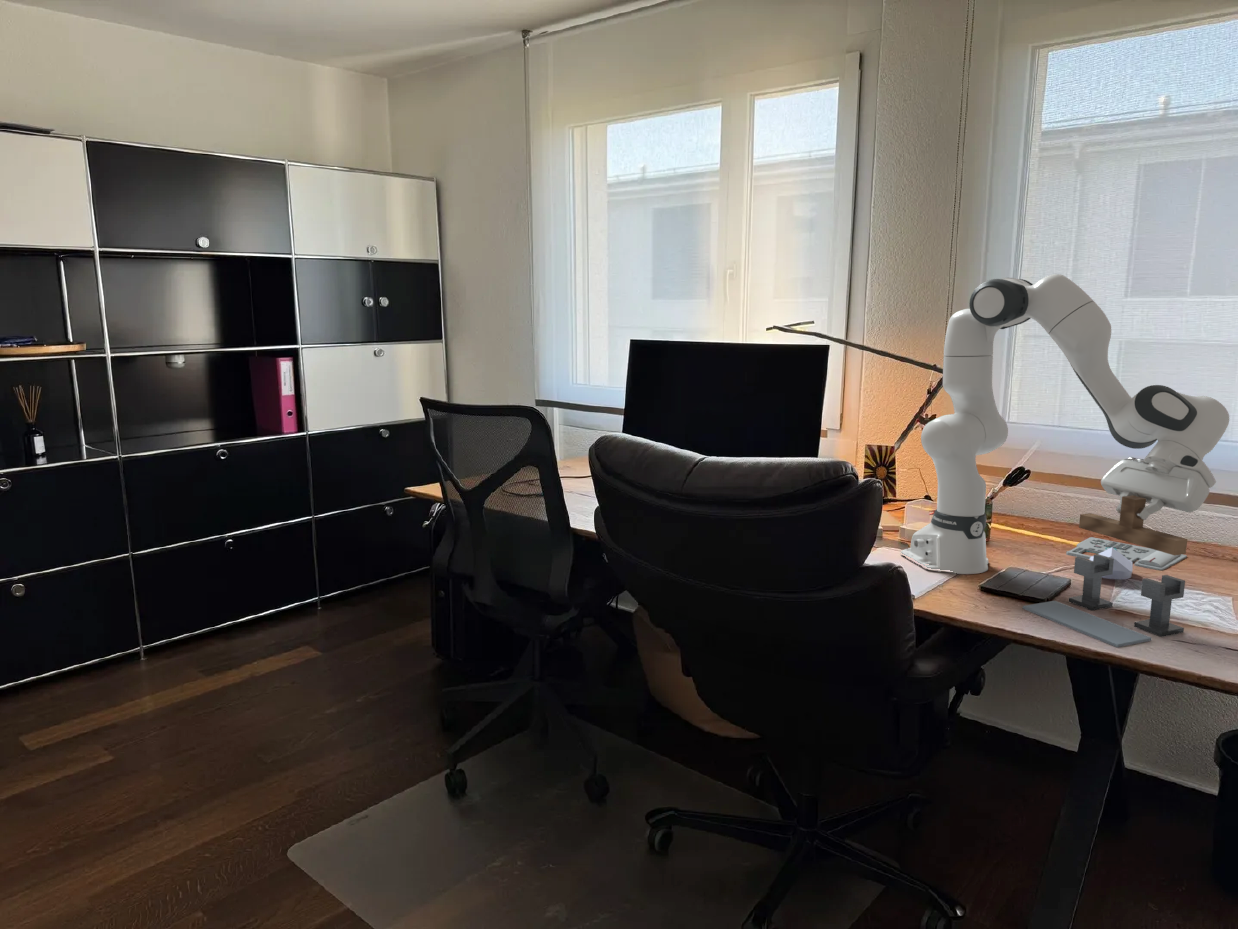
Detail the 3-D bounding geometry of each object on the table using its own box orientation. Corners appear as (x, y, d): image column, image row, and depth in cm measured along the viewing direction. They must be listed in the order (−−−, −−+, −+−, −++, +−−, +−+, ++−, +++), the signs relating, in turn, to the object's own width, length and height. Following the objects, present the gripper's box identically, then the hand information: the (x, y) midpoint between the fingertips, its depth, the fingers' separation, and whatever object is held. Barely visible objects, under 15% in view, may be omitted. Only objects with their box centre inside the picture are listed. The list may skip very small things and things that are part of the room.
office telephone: (1188, 550, 218) (1162, 566, 205) (1186, 559, 219) (1161, 576, 206) (1091, 532, 235) (1061, 546, 222) (1090, 541, 236) (1061, 555, 223)
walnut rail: (1078, 527, 185) (1082, 487, 183) (1089, 526, 186) (1093, 486, 184) (1174, 555, 164) (1180, 510, 163) (1185, 553, 165) (1191, 509, 164)
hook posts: (1067, 602, 187) (1071, 556, 185) (1089, 598, 189) (1093, 552, 187) (1160, 637, 167) (1166, 586, 165) (1184, 632, 169) (1190, 582, 167)
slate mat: (1022, 608, 183) (1022, 606, 183) (1054, 603, 186) (1054, 600, 186) (1116, 647, 162) (1117, 644, 162) (1151, 640, 165) (1151, 637, 165)
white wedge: (1130, 586, 197) (1131, 571, 208) (1133, 558, 195) (1134, 545, 206) (1086, 580, 201) (1089, 566, 212) (1089, 553, 200) (1091, 540, 211)
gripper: (1118, 446, 184) (1079, 494, 182) (1211, 463, 165) (1169, 517, 163) (1131, 465, 186) (1093, 512, 185) (1224, 484, 167) (1183, 536, 166)
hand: (1129, 515), depth 174 cm, fingers closed on walnut rail, 3 cm apart
